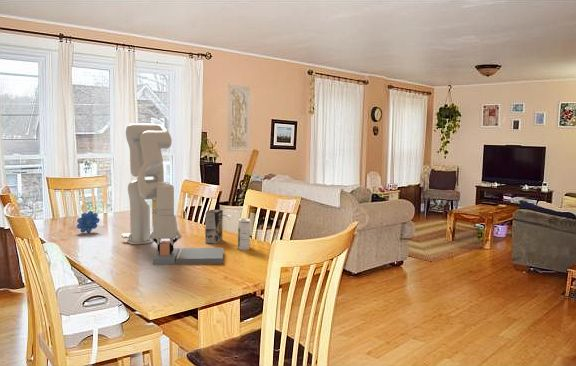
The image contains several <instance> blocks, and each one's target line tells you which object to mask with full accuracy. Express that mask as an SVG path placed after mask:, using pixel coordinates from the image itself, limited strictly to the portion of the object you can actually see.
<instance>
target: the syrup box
mask: <svg viewBox="0 0 576 366" xmlns="http://www.w3.org/2000/svg"><path fill="white" fill-rule="evenodd" d="M250 242H251V218H245V217H243V218H238V229H237V250H238V251H240V250H241V251H242V250H243V251H246V250H247V251H248V250H250V246H251V245H250V244H251V243H250Z"/></svg>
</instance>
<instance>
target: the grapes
mask: <svg viewBox="0 0 576 366" xmlns="http://www.w3.org/2000/svg"><path fill="white" fill-rule="evenodd" d="M98 216H99V214H98V213H97V212H94V211H92V210H89V211H87V212H83V213H81V216H80V217H78V218H77V220H76V221H77V223H78V224H77V225H76V229H78V230H79V231H80V233H85V232H86V233H91V232H92V231H93V230H95V229H97V227H98V224H99V223H100V218H99V217H98Z"/></svg>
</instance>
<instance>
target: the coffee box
mask: <svg viewBox="0 0 576 366" xmlns="http://www.w3.org/2000/svg"><path fill="white" fill-rule="evenodd" d="M223 210H224V209H210V210H208V211H206V212H205V232H204V233H205V237H204V238H205V241H204V242H205V244H218V243H219V242H221V241H223V213H224V212H223Z"/></svg>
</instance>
